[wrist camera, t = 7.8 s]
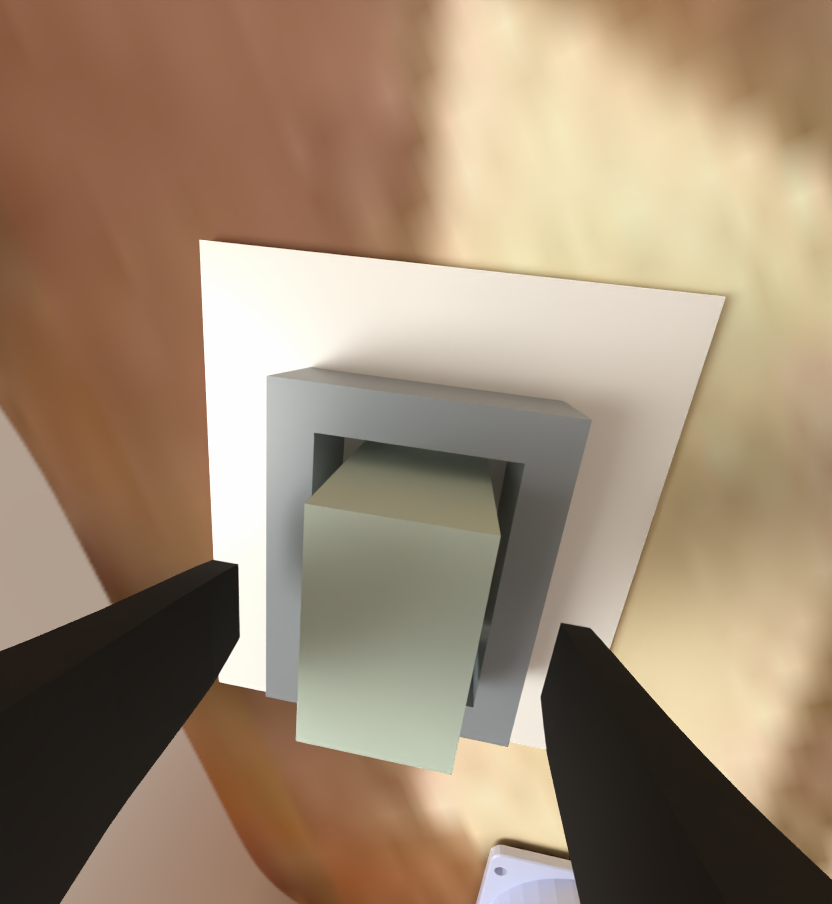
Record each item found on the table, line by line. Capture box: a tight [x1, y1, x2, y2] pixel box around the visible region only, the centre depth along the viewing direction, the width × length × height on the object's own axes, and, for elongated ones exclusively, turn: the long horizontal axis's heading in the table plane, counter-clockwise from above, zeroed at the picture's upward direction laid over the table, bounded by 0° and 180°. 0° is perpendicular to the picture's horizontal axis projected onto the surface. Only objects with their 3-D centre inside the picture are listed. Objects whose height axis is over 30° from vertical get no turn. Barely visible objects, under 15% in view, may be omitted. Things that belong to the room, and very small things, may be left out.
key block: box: [296, 440, 501, 775], centre depth 10 cm, size 4×6×5 cm, turn 173°
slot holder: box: [200, 240, 726, 750], centre depth 12 cm, size 16×14×3 cm
